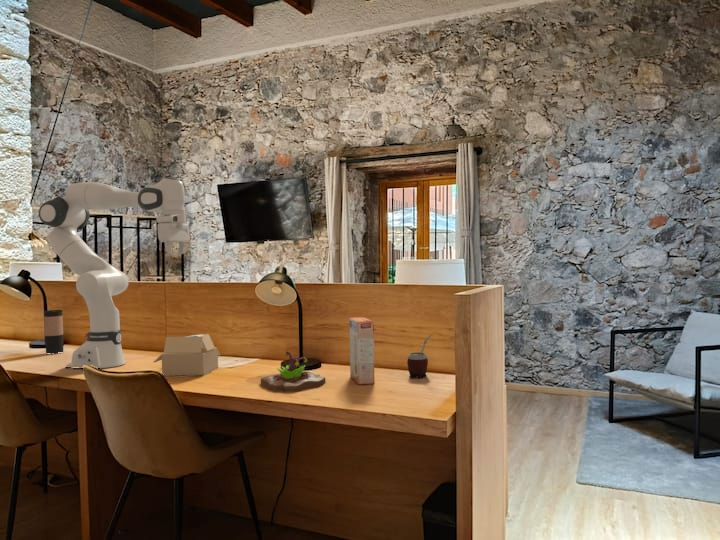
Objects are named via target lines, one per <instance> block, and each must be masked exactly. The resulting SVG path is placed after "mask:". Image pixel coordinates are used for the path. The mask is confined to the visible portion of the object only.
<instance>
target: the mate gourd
mask: <svg viewBox="0 0 720 540" xmlns="http://www.w3.org/2000/svg"><path fill="white" fill-rule="evenodd" d="M432 336H433V334H430V335H428V336H427V337H426V338H425V339H424V342H423V344H422V345H423V346H422V349H421V351H420V352H411V353H409V354H408V357H407V369H408V372H409V379H411V378H418V379H423V377H427V370H428V366H429V365H428V364H429V360H428V356H427V355H426V353H425V352H424V350H425V346H426V344H427V341H428V340H429V339H431V337H432Z"/></svg>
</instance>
